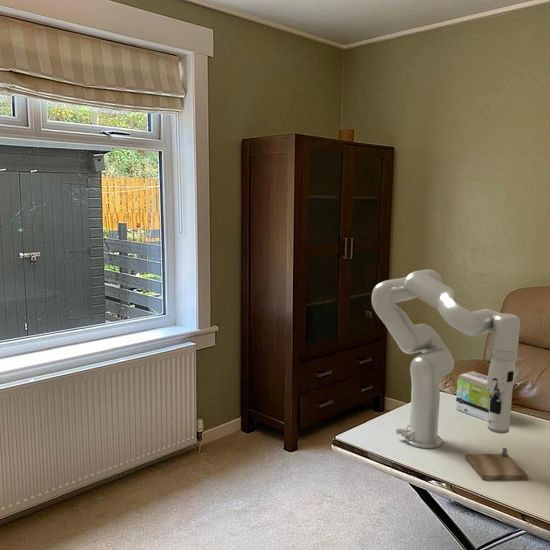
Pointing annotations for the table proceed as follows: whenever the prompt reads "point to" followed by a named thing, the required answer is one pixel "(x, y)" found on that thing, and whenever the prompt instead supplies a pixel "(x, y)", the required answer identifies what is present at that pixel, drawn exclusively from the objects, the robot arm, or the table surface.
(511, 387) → the travel mug
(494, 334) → the robot arm
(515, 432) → the table surface
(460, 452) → the table surface
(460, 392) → the tea box
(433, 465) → the table surface
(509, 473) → the walnut board
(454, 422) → the table surface
